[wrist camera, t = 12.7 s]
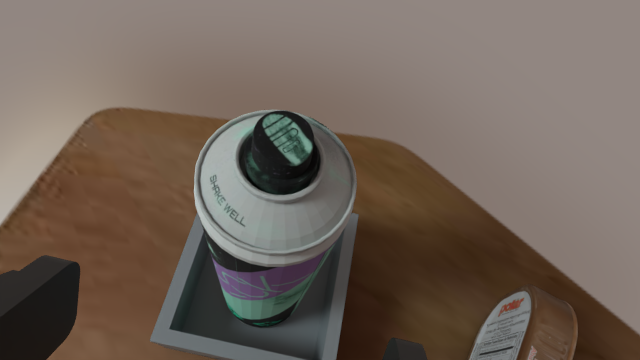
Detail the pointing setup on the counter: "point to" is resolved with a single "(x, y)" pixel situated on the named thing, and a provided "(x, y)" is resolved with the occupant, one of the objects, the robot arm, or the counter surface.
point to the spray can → (272, 209)
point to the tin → (527, 328)
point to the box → (242, 340)
